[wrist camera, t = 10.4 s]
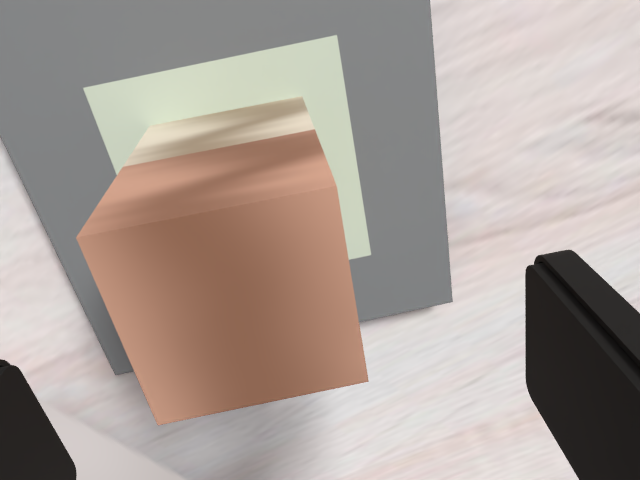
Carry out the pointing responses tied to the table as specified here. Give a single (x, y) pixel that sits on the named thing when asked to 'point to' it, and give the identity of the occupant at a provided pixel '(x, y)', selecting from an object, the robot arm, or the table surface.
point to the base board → (227, 94)
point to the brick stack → (228, 263)
